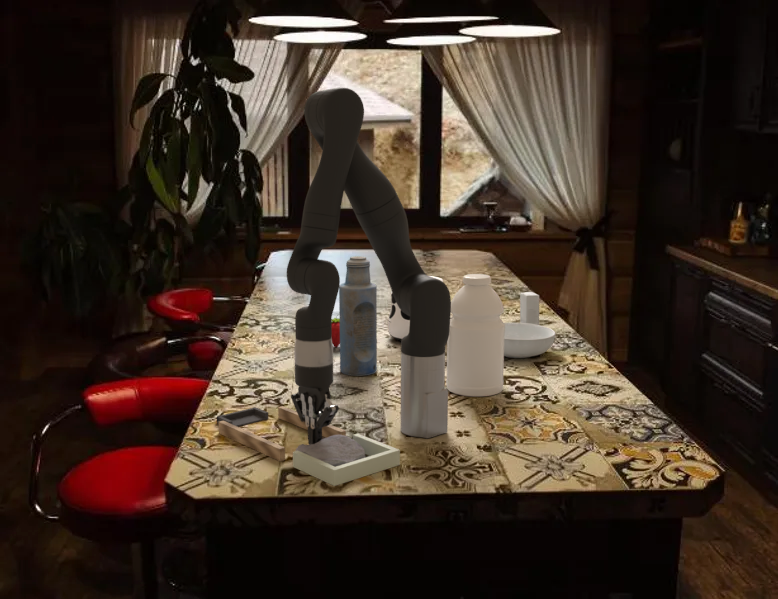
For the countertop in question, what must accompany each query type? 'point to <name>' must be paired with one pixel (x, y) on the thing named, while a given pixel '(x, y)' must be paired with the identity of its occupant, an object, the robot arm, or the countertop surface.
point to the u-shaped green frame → (377, 461)
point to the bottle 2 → (476, 339)
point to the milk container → (399, 319)
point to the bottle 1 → (358, 319)
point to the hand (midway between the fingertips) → (314, 444)
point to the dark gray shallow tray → (244, 417)
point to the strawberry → (335, 332)
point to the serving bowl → (526, 340)
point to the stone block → (334, 450)
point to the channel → (268, 446)
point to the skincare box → (529, 308)
